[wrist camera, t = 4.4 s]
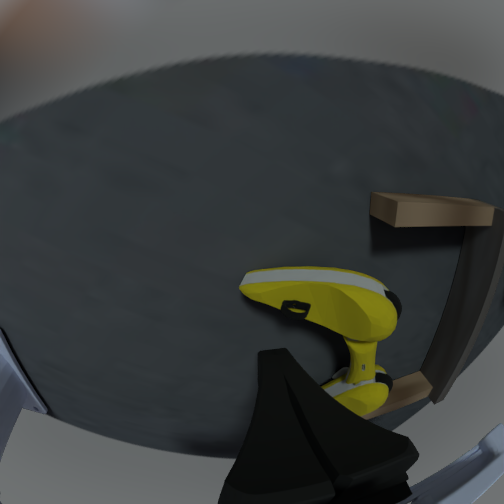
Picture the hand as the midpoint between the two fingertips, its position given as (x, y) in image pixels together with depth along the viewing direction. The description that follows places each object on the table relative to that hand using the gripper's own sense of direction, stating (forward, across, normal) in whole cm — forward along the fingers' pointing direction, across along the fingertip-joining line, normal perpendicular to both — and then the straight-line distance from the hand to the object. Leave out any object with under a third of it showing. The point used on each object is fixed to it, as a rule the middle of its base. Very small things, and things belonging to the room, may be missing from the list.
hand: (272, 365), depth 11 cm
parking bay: (+2, -8, 0) cm, 8 cm away
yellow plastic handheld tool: (+2, -3, 0) cm, 4 cm away
